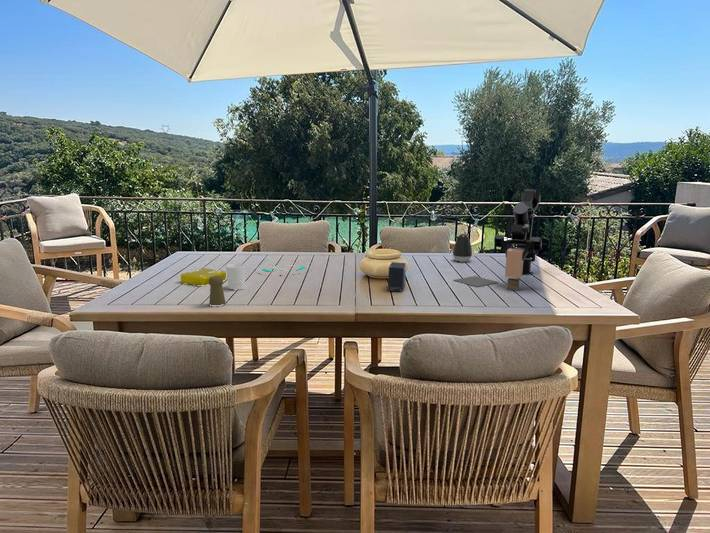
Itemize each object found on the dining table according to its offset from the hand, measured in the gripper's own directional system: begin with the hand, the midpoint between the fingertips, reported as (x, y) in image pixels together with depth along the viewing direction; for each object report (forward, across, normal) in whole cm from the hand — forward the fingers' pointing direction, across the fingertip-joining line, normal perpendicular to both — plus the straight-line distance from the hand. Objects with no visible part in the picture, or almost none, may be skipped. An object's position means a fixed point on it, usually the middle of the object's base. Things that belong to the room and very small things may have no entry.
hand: (514, 258), depth 193 cm
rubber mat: (+5, -17, +14) cm, 22 cm away
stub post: (+8, 0, +10) cm, 13 cm away
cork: (+61, -95, -42) cm, 121 cm away
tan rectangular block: (+4, 0, +6) cm, 8 cm away
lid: (+19, -108, +1) cm, 110 cm away
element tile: (+44, -126, -24) cm, 136 cm away
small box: (+24, -44, -5) cm, 50 cm away
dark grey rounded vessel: (-25, -34, +44) cm, 61 cm away
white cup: (+46, -104, -27) cm, 117 cm away
